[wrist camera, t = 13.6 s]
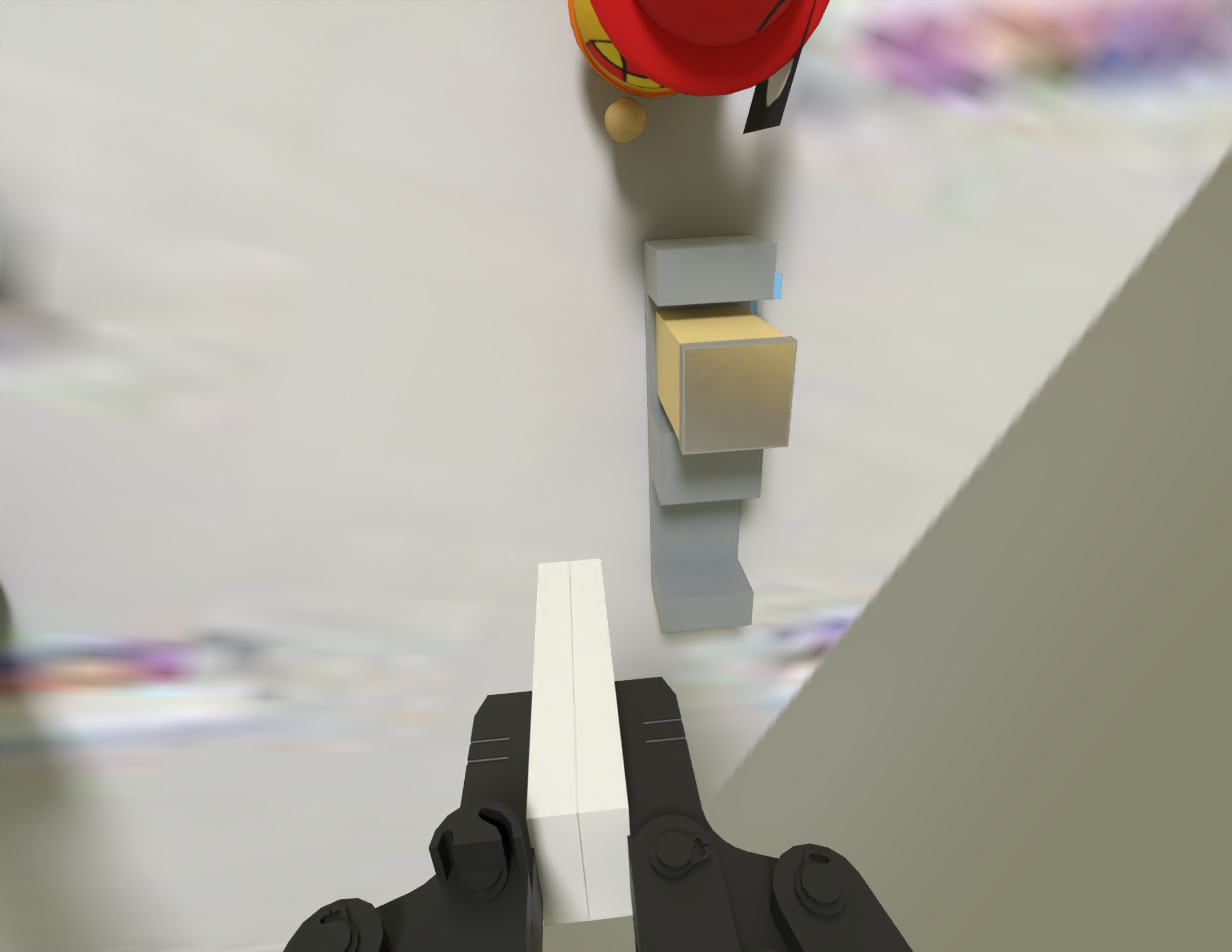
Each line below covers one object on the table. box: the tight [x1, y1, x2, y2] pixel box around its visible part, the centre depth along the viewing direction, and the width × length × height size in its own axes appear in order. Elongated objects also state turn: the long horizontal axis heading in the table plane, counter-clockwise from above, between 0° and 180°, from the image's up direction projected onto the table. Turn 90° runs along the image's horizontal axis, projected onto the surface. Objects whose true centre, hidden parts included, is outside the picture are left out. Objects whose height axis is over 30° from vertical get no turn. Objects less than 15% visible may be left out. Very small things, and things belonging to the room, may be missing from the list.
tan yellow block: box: [656, 305, 797, 455], centre depth 32 cm, size 5×5×9 cm
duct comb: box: [644, 235, 782, 633], centre depth 38 cm, size 6×24×5 cm, turn 3°
